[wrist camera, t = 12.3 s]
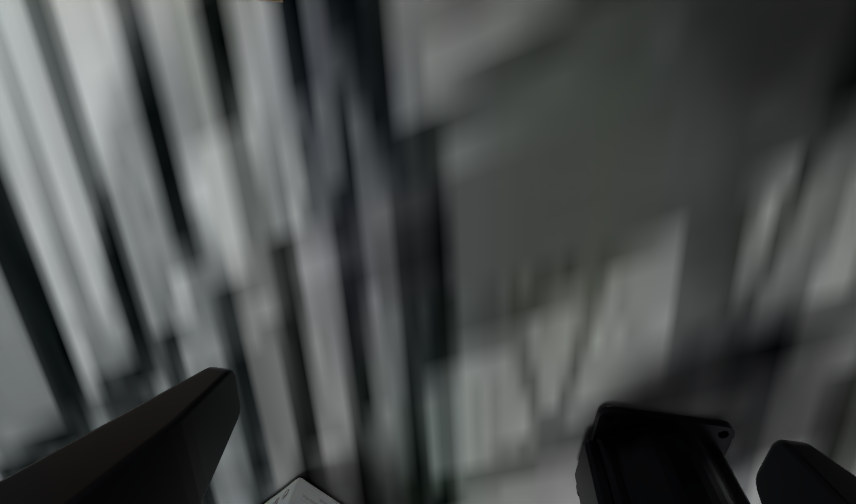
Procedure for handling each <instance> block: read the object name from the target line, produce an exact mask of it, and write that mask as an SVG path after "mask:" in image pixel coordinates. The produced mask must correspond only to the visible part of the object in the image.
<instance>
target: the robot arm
mask: <svg viewBox="0 0 856 504" xmlns="http://www.w3.org/2000/svg"><path fill="white" fill-rule="evenodd" d="M239 413H240V399H239V393H238V387H237V381H236V376H235V373H234V372H233V371H232V370H230V369H224V368H217V367H210V368H207V369H205V370H203V371H201V372H199V373H197V374H196V375H194V376H192V377H190V378H188V379H186V380H185V381H183V382H181V383H179V384H177V385H175V386H174V387H172V388H170V389H168V390H166V391H164V392H163V393H161V394H159V395H157V396H155V397H153V398H152V399H150V400H148V401H146V402H144V403H143V404H141V405H139V406H137V407H135V408H133V409H132V410H130V411H128V412H126V413H124V414H122V415H121V416H119V417H117V418H115V419H113V420H111V421H110V422H108V423H106V424H104V425H102V426H100V427H99V428H97V429H95V430H93V431H91V432H90V433H88V434H86V435H84V436H82V437H80V438H79V439H77V440H75V441H73V442H71V443H69V444H68V445H66V446H64V447H62V448H60V449H58V450H57V451H55V452H53V453H51V454H49V455H48V456H46V457H44V458H42V459H40V460H38V461H37V462H35V463H33V464H31V465H29V466H27V467H26V468H24V469H22V470H20V471H18V472H16V473H15V474H13V475H11V476H9V477H7V478H5V479H4V480H2V481H0V504H201V502H202V499H203V497H204V495H205V493H206V491H207V489H208V486H209V484H210V482H211V479H212V477H213V475H214V473H215V470H216V468H217V466H218V463H219V461H220V459H221V456H222V454H223V452H224V450H225V447H226V445H227V443H228V440H229V438H230V436H231V433H232V431H233V429H234V427H235V424H236V422H237V420H238V417H239ZM607 416H611V417H609V418H606V417H607ZM721 431H722V432H721ZM734 434H735V433H734V430H733V429H732V427H731V426H730V424H729V423H728V422H725V421H719V420H711V419H704V418H696V417H688V416H680V415H672V414H664V413H656V412H649V411H641V410H633V409H625V408H617V407H603V408H601V409H599V411H598V412H597V415H596V419H595V422H594V426H593V429H592V433H591V436H590V440H587V441H586V442H585V443H584V444H583V448H582V451H581V455H580V458H579V462H578V465H577V469H576V472H575V478H576V483H577V485H576V489H577V494H578V496H579V499H580V504H750V502H749V500H748V498H747V496H746V495H745V493H744V491H743V489H742V487H741V486H740V484H739V482H738V480H737V478H736V477H735V475H734V473H733V471H732V469H731V467H730V466H729V464H728V462H727V460H726V458H725V457H724V456H725V454H726V452H727V450H728V448H729V446H730V444H731V441H732V439H733V437H734ZM756 486H757V491H758V494H759V497H760V500H761V503H762V504H856V476H854V475H853V474H851V473H850V472H848V471H847V470H846V469H844V468H843V467H841V466H840V465H838V464H837V463H835V462H834V461H833V460H831V459H830V458H828V457H827V456H825V455H824V454H823V453H821V452H820V451H818V450H817V449H815V448H814V447H812V446H811V445H809V444H807V443H803V442H796V441H788V440H778V441H776V442H775V443H773V445H772V446H771V448H770V450H769V452H768V454H767V456H766V457H765V459H764V461H763V463H762V465H761V467H760V469H759V471H758V473H757V477H756Z"/></svg>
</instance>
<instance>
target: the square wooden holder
mask: <svg viewBox="0 0 856 504" xmlns="http://www.w3.org/2000/svg"><path fill="white" fill-rule="evenodd" d="M251 1H268V2H283V0H251Z"/></svg>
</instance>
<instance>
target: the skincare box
mask: <svg viewBox="0 0 856 504" xmlns="http://www.w3.org/2000/svg"><path fill="white" fill-rule="evenodd" d="M265 504H340V503H338V502H337V501H335V500H334V499H332V498H331V497H329V496H328V495H326V494H325V493H323V492H322V491H320V490H319V489H317V488H316V487H314V486H313V485H311V484H310V483H308V482H307V481H305V480H304V479H302V478H297V479H296V480H295V481H293V482H292V483H291V484H290V485H288V486H287V487H286V488H285V489H283V490H282V491H281V492H279V493H278V494H277V495H276V496H274V497H273V498H271V499H270V500H268V501H267V502H266V503H265Z"/></svg>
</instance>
